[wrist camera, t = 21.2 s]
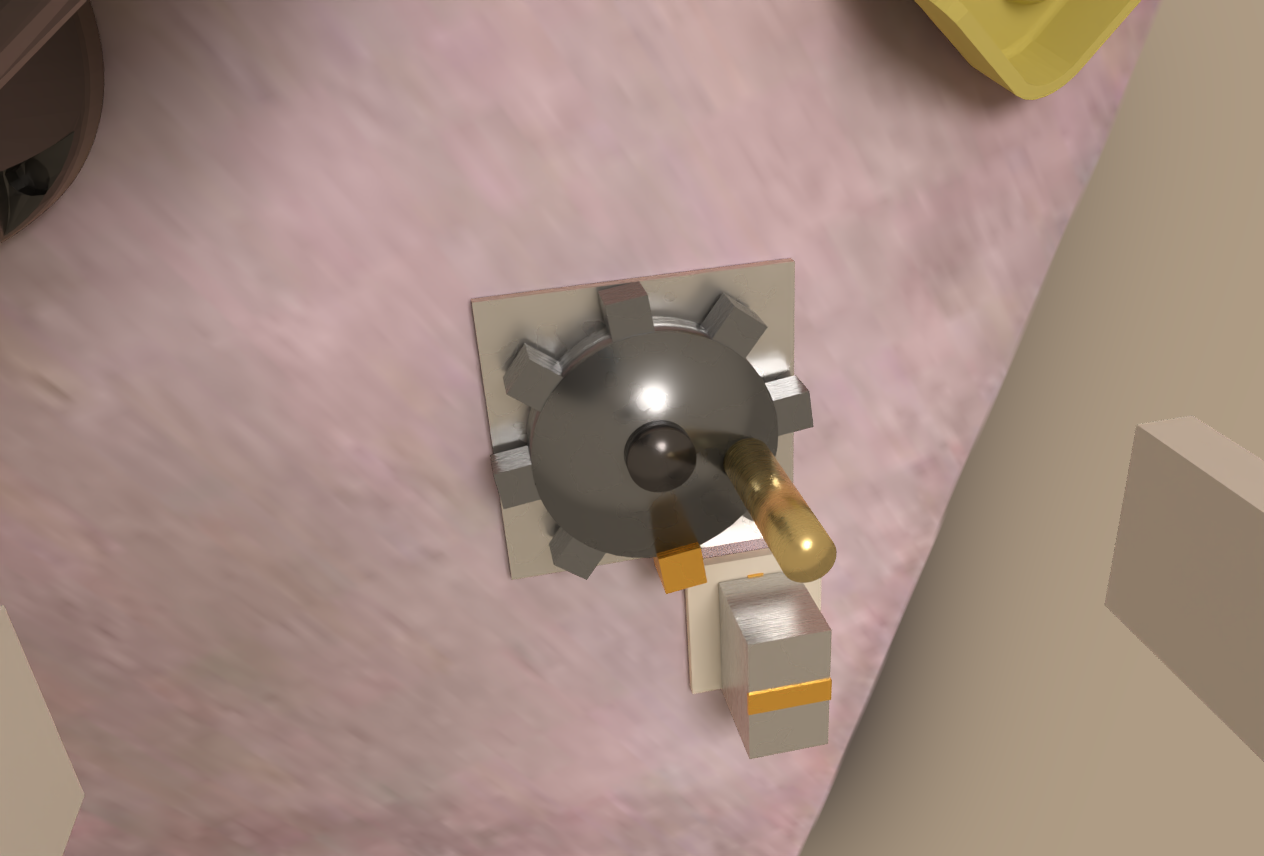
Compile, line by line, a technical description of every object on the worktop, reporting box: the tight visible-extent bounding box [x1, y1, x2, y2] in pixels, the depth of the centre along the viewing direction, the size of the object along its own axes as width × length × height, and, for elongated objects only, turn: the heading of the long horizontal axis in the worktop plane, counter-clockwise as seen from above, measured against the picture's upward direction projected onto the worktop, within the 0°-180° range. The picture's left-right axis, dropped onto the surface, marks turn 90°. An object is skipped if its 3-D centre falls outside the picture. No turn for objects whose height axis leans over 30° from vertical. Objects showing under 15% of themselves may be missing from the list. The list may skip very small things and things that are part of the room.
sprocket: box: [490, 281, 836, 594], centre depth 42 cm, size 14×14×10 cm
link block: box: [719, 572, 832, 759], centre depth 51 cm, size 4×7×5 cm, turn 4°
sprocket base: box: [471, 258, 795, 580], centre depth 47 cm, size 14×14×1 cm
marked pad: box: [685, 548, 821, 694], centre depth 53 cm, size 7×8×1 cm
